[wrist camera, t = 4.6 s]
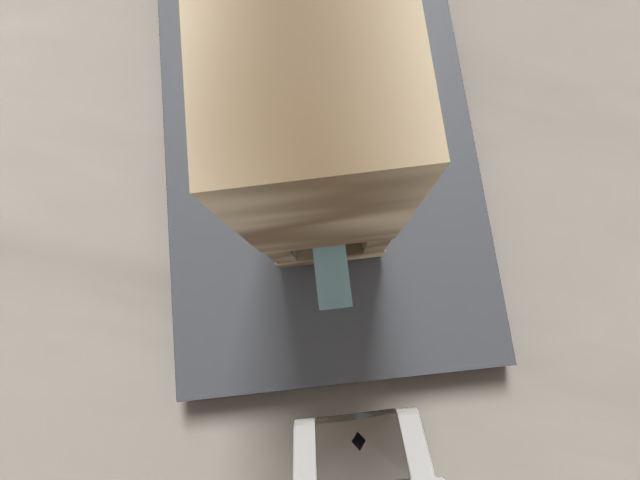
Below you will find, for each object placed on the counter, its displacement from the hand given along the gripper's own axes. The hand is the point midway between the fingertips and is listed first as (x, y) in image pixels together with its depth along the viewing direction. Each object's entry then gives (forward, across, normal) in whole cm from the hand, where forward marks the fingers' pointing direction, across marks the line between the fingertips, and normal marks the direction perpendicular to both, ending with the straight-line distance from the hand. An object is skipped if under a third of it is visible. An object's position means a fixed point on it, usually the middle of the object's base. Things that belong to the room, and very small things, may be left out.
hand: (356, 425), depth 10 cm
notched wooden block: (+10, 0, 0) cm, 10 cm away
